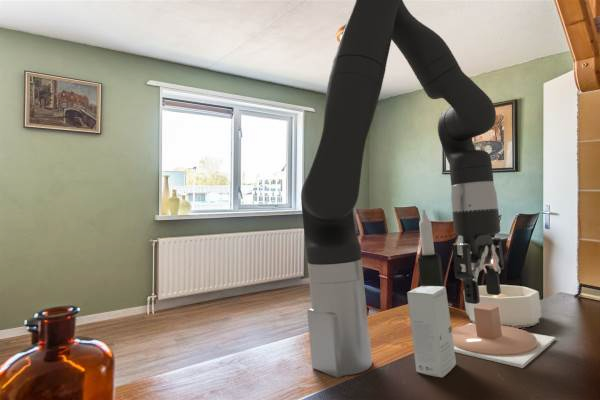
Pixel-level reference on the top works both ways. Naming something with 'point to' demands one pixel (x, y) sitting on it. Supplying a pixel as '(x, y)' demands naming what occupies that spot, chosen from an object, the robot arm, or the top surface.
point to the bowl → (510, 305)
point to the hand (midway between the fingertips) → (483, 298)
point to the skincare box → (431, 330)
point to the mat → (514, 360)
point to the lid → (492, 335)
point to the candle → (428, 256)
